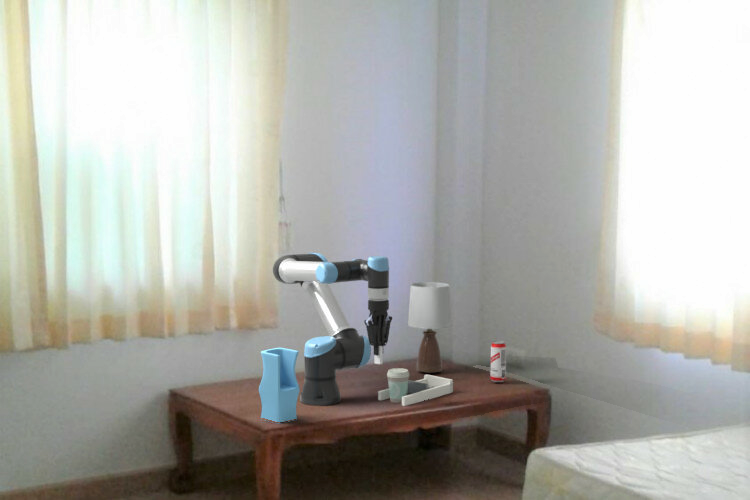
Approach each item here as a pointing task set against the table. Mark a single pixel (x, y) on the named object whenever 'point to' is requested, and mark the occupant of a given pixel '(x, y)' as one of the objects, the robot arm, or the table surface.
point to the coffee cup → (397, 384)
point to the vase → (279, 385)
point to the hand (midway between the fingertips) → (378, 363)
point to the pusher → (417, 387)
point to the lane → (440, 388)
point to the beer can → (498, 361)
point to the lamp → (429, 320)
